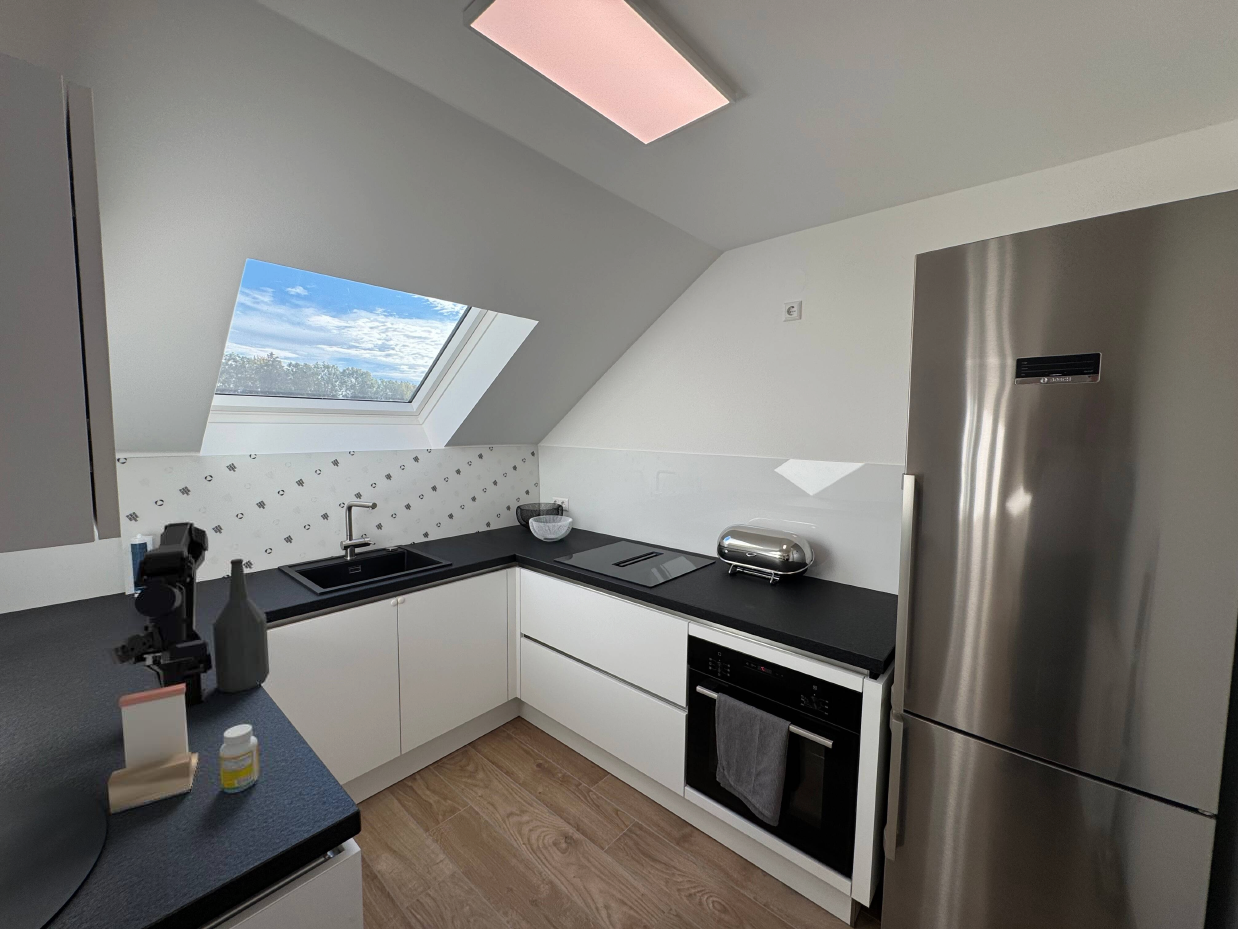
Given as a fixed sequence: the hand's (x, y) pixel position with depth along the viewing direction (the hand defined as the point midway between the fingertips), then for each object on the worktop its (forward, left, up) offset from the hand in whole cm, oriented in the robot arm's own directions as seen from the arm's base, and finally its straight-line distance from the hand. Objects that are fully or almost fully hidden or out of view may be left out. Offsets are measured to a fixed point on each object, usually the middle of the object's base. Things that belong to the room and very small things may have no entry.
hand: (167, 699), depth 102 cm
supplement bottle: (+20, +12, -10) cm, 25 cm away
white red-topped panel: (+12, 0, -8) cm, 14 cm away
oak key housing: (+13, 0, -9) cm, 16 cm away
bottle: (-23, +10, -10) cm, 27 cm away
